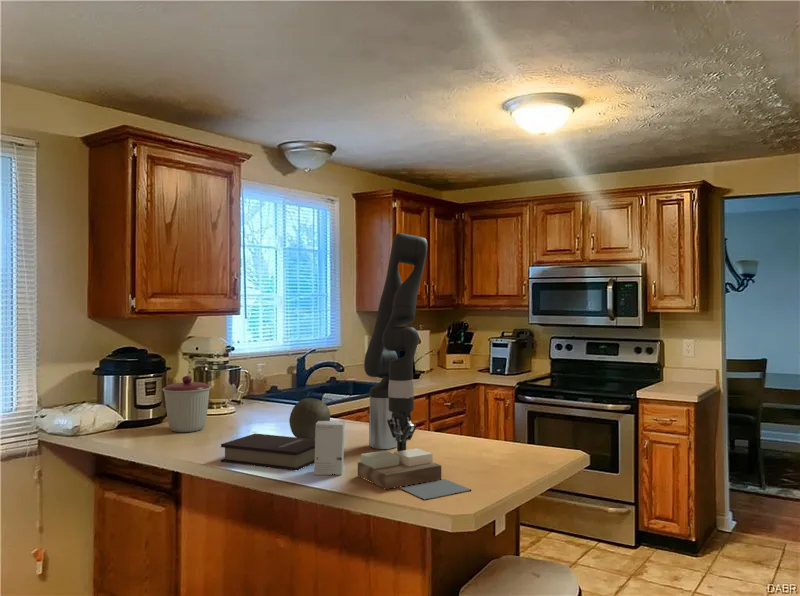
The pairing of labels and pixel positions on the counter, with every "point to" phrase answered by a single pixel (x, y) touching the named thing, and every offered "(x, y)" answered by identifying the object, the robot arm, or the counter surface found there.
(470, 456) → the counter surface
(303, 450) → the book
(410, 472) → the walnut board
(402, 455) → the cream tile
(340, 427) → the skincare box
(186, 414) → the canister
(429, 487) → the grey mat
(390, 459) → the sage tile
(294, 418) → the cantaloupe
